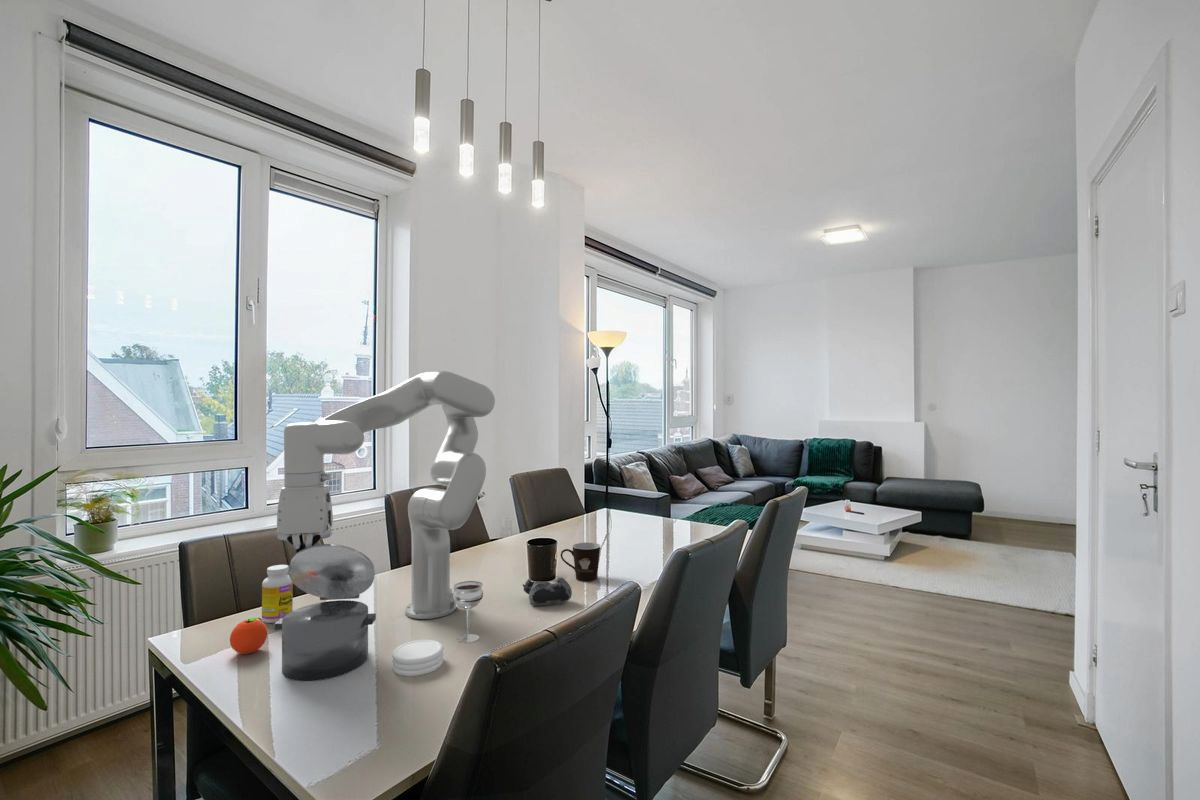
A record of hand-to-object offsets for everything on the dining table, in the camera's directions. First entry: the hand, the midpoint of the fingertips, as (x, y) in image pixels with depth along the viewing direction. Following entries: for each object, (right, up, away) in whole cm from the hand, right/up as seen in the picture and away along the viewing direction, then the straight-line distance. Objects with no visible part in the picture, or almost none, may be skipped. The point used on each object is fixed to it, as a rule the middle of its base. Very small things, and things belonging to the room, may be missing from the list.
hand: (305, 565), depth 121 cm
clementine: (-12, -19, +1) cm, 23 cm away
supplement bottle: (-17, -19, +19) cm, 32 cm away
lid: (+6, -2, -1) cm, 6 cm away
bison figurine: (+49, -19, +32) cm, 62 cm away
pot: (+7, -19, -4) cm, 20 cm away
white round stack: (+26, -19, -6) cm, 33 cm away
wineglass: (+33, -19, +8) cm, 39 cm away
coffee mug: (+58, -19, +53) cm, 81 cm away
